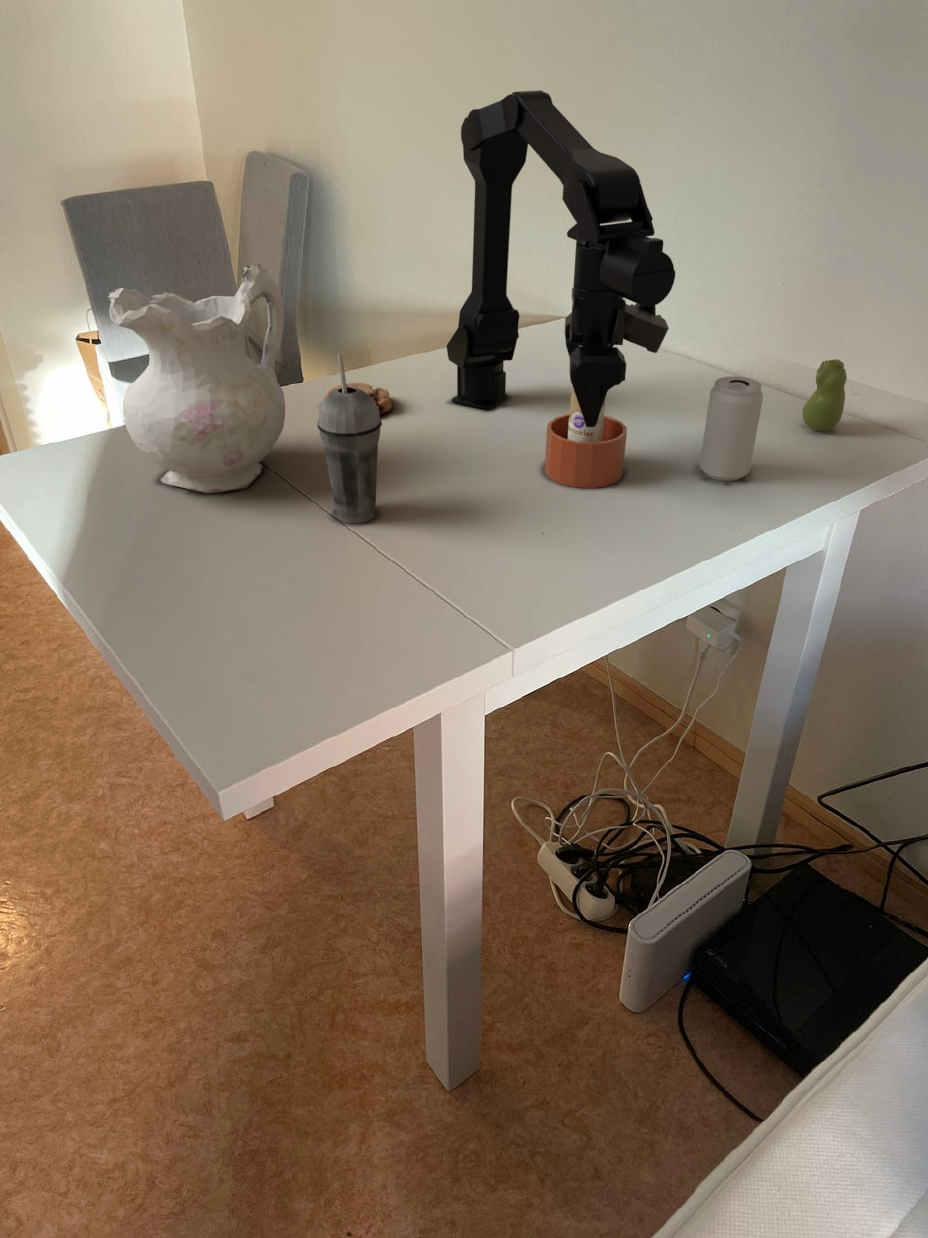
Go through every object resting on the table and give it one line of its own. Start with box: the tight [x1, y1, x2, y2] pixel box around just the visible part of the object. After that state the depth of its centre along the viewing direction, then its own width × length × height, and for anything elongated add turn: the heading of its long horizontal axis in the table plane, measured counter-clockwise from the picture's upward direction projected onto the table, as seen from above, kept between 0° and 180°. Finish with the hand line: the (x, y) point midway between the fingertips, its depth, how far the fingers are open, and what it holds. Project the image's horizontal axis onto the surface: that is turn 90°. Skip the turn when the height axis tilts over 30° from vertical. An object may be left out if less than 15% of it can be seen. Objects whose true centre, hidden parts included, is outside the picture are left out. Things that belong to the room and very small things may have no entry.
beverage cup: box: [317, 351, 383, 525], centre depth 109 cm, size 7×7×20 cm
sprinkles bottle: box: [568, 386, 606, 443], centre depth 121 cm, size 5×5×13 cm
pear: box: [801, 358, 848, 432], centre depth 134 cm, size 6×5×10 cm
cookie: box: [323, 382, 393, 415], centre depth 143 cm, size 10×11×3 cm
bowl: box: [544, 413, 628, 489], centre depth 123 cm, size 10×10×6 cm
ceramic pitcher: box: [108, 263, 286, 494], centre depth 118 cm, size 22×20×25 cm
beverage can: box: [699, 375, 764, 482], centre depth 121 cm, size 6×6×12 cm
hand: (588, 412), depth 121 cm, fingers open, 9 cm apart
